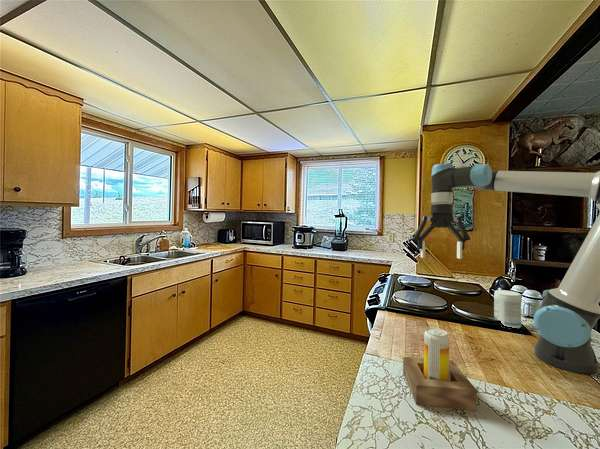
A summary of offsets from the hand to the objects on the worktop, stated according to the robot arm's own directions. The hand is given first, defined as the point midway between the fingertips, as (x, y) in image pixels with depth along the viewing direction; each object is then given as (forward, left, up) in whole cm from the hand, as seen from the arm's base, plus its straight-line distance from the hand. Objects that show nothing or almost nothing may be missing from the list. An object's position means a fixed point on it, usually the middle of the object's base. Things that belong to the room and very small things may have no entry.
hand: (440, 258), depth 106 cm
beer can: (+13, +35, -31) cm, 48 cm away
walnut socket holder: (+13, +35, -32) cm, 49 cm away
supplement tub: (-35, -19, -32) cm, 51 cm away
